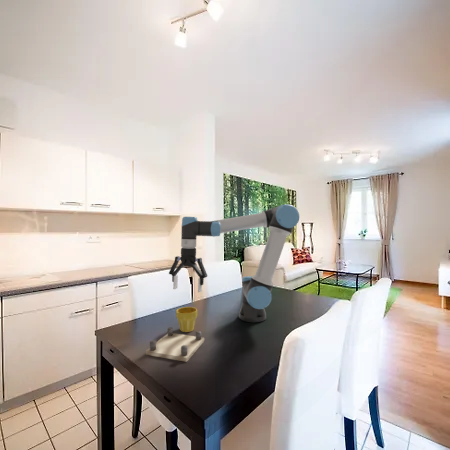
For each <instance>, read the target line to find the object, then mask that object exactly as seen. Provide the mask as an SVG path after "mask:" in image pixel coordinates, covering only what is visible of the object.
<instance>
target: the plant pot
mask: <svg viewBox="0 0 450 450" xmlns="http://www.w3.org/2000/svg"><path fill="white" fill-rule="evenodd" d="M175 311H176V312H175V314H176V319H177V321H178V325H179V330H180V331H181V333H182V332H183V333H191V332H193V331H194V329H195V324H196V319H197V317H198V309H197V308H196V307H194V306H185V307H184V306H183V307H180V308H177V309H176V310H175Z"/></svg>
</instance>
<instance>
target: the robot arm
mask: <svg viewBox="0 0 450 450" xmlns="http://www.w3.org/2000/svg"><path fill="white" fill-rule="evenodd" d="M181 219H182V220H181V232H180V233H181V234H180V235H181V239H180V241H181V243H180V244H181V245H180V246H181V248H180V256H178V255H177V256H174V262H173V264H172V265H171V267H170V269H169V272H168V275H171V276H172V280H171V281H172V283H173V285H172V286H173V290H176V289H178V280H179V279H178V277H179V276H178V273H179V272H180V271H181V270H182V269H183V267H191V268H192V269H193V270H194V272H195V273H196V274H197V277H198V280H197V282H198V283H197V293H201V292H202V291H203V287H202V286H203V285H204V281H205V280H204V279H206V278H207V277H208V273H207V271H206V268H205V267H204V264H203V258H202V257H198V258H197V248H196V247H197V237H213V238H215V237H220V236H221V234H224V233H231V232H236V231H242V230H249V229H254V228H261V227H262V228H263V227H264V228H269V229H270V231H269V235H268V237H267V241H266V244H265V247H264V249H263V252H262V255H261V258H260V261H259V263H258V267H257V269H256V272H255V274H254V275H252V276H251V275H249V276H248V275H247V276H243V277H242V279H241V290H242V292H241V294H242V295H241V298H242V299H241V300H242V301H241V306H240V309H239V313H238V318H239V319H240V320H241V321H243V322H247V323H261V322H264V321H265V320H267V312H266V309H265V308H267V307H268V306H269V305H270V304H271V302H272V290H273V287H274V283H273V281H272V280H273V278H274V275H275V272H276V269H277V267H278V264H279V260H280V257H281V255H282V252H283V250H284V246H285V243H286V240H287V237H288V236H291V235H292V232H293V231H294V227H295V226H297V225H298V223H299V221H300V213H299V210H298V209H297V208H296V207H295V206H294V205H292V204H287V203H286V204H281V205H279V206H275V207H272V208H270V209H267V210H266V209H265V210H262V211H261V212H259V213H254V214H248V215H247V214H246V215H242V216H236V217H230V218H224V219H223V218H222V219H217V220H212V221H209V220H208V221H206V220H205V221H204V220H202V221H201V220H198V217H196V216H183V217H182V218H181ZM180 261H181V262H180ZM179 262H180V264H179V265H178V263H179ZM197 264H198V266H197Z"/></svg>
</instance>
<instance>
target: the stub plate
mask: <svg viewBox="0 0 450 450" xmlns="http://www.w3.org/2000/svg"><path fill="white" fill-rule="evenodd" d="M204 343H205V337H202V331H200V330H197V331H195V336H194V335H188V334H183V333H174V328H173V327H172V326H171V327H167V333H166V334H165V335H164V336H162V337H161V338H160V339H158V341H156V340H150V341H149V347H148V349H147V348H146V350H145V355H146V356H152V357H156V358H162V359H167V360H168V359H169V360H172V361H181V362H188V361H189V360H190V359H191V357H192V356H193V355H194V354H195V352H197V350H198V349H199V348H200V347H201V346H202V345H203V344H204Z"/></svg>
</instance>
